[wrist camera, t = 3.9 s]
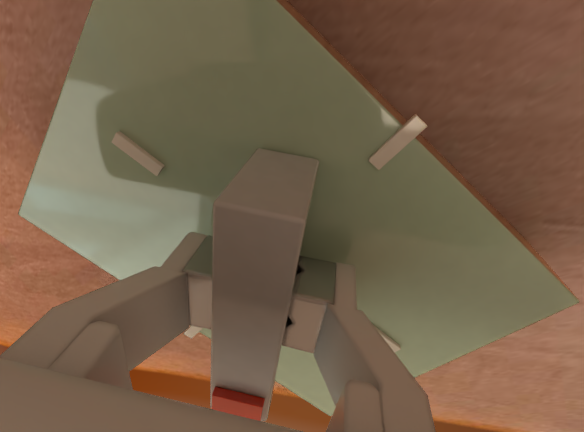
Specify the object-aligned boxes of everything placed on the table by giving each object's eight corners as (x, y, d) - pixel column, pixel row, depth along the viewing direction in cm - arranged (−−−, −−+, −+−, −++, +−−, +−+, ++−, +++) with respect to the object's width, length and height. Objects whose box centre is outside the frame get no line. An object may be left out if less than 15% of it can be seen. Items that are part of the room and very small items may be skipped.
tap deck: (80, 184, 13) (9, 223, 10) (212, -96, 8) (141, -164, 5) (328, 357, 16) (324, 423, 13) (537, 235, 11) (600, 300, 8)
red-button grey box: (256, 146, 8) (205, 208, 5) (320, 158, 8) (304, 229, 5) (241, 322, 11) (205, 418, 8) (285, 332, 11) (264, 433, 8)
